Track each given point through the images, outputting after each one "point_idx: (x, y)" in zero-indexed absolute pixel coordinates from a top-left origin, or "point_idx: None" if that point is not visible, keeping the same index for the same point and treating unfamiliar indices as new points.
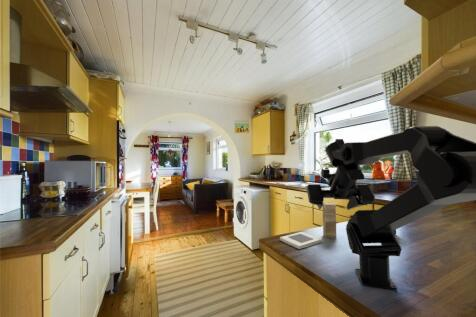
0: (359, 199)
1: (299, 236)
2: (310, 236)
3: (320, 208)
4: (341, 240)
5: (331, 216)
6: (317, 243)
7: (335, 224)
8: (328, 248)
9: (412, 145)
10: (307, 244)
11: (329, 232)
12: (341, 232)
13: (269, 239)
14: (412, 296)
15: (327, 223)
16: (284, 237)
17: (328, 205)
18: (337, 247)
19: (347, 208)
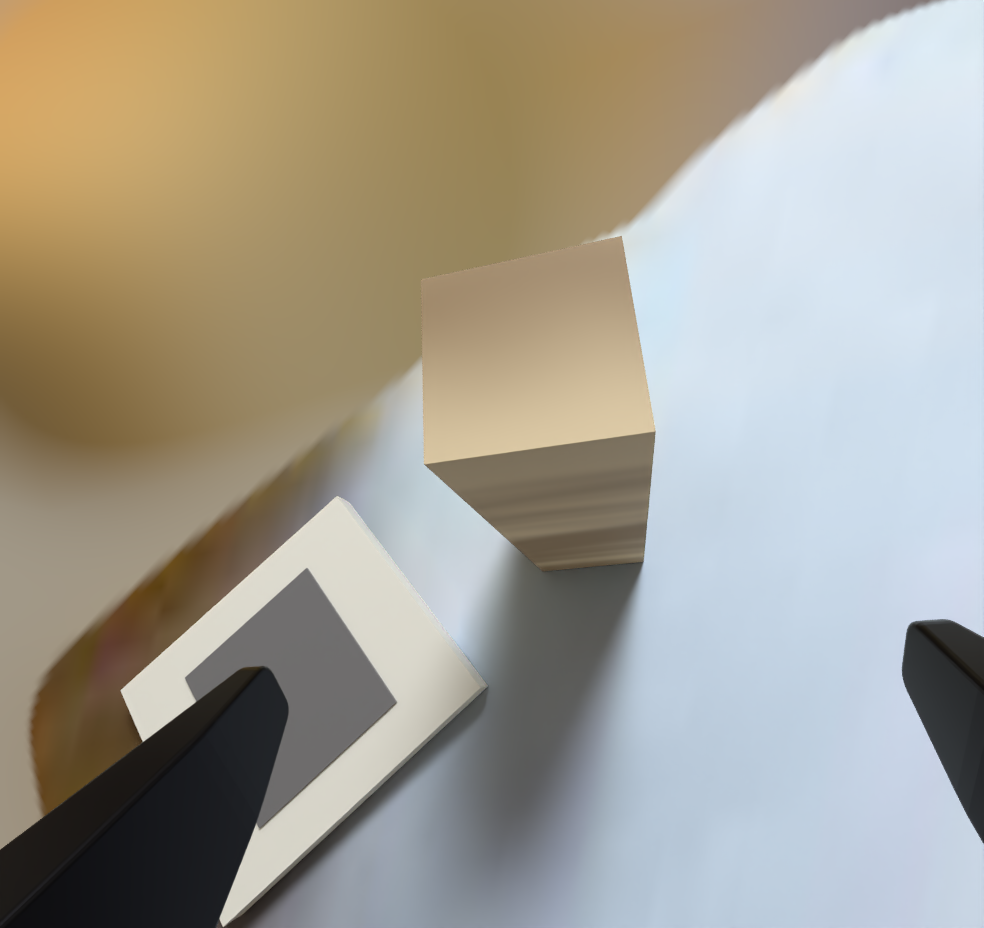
0: None
1: (281, 650)
2: (382, 625)
3: (243, 828)
4: (685, 605)
5: (579, 514)
6: (431, 738)
7: (638, 532)
8: (508, 863)
9: None
10: (314, 844)
11: (570, 557)
12: (730, 364)
13: (72, 681)
14: None
15: (534, 542)
16: (155, 691)
17: (497, 464)
18: (603, 824)
19: (924, 696)
